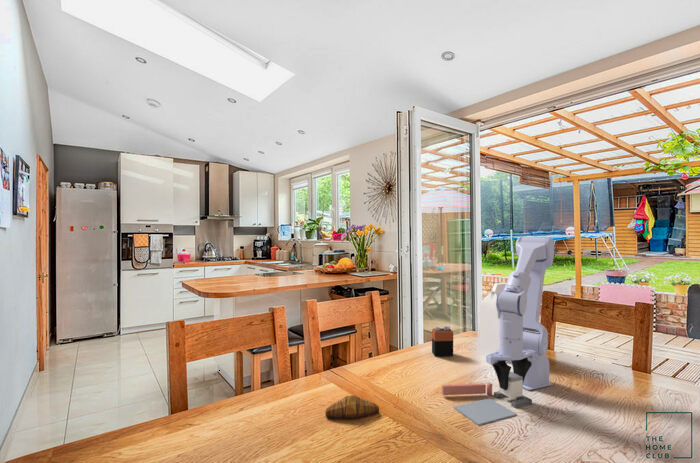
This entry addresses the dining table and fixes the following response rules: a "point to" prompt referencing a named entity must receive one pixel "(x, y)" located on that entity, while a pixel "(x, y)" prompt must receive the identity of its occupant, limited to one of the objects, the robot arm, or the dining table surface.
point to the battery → (442, 341)
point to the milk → (489, 322)
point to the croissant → (352, 408)
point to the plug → (513, 386)
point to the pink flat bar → (467, 389)
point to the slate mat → (484, 411)
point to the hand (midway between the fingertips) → (510, 387)
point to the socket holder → (521, 402)
